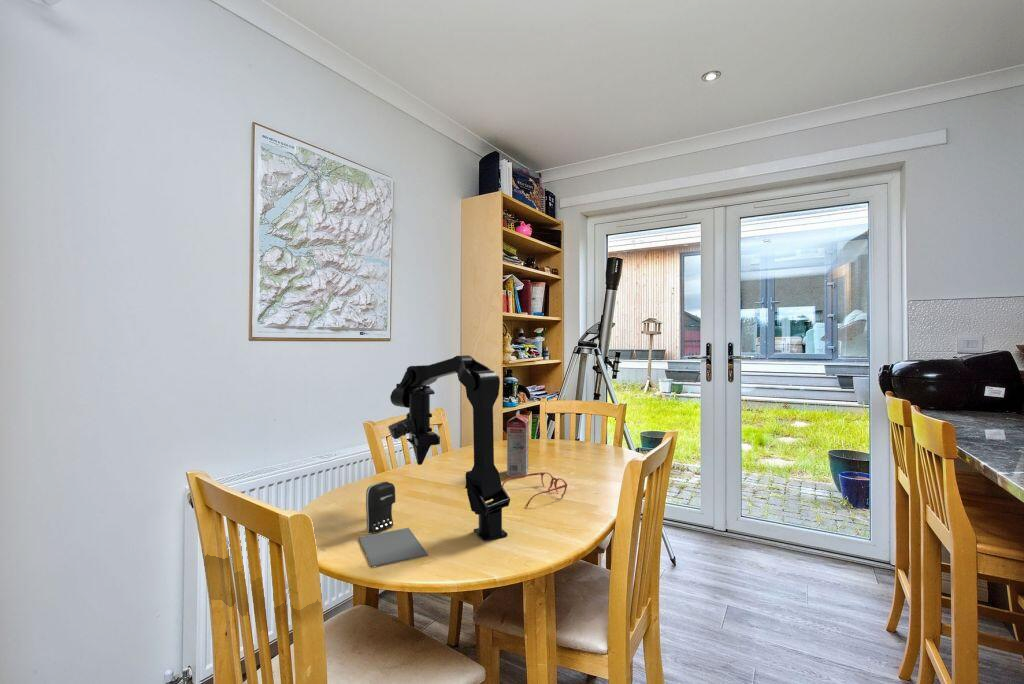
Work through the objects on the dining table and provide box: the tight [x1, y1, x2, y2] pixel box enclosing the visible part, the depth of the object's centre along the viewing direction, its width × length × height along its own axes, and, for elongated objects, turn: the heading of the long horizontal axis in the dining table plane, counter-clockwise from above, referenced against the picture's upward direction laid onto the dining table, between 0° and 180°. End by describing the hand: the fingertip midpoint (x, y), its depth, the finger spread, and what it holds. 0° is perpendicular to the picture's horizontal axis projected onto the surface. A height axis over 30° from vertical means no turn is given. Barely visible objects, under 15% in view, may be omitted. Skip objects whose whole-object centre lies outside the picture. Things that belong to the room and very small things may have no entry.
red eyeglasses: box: [501, 471, 568, 507], centre depth 144 cm, size 17×16×5 cm
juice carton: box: [506, 409, 529, 477], centre depth 166 cm, size 7×7×22 cm
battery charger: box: [365, 480, 396, 534], centre depth 118 cm, size 7×4×11 cm, turn 144°
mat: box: [358, 527, 429, 568], centre depth 108 cm, size 16×12×1 cm
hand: (419, 464), depth 133 cm, fingers closed
